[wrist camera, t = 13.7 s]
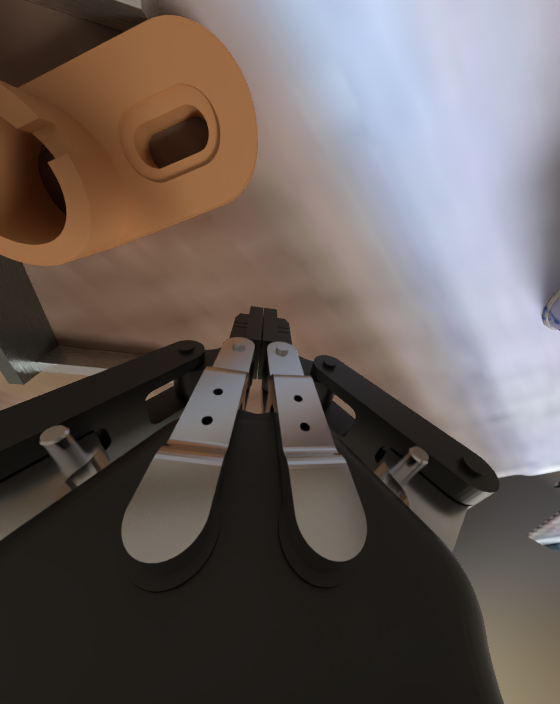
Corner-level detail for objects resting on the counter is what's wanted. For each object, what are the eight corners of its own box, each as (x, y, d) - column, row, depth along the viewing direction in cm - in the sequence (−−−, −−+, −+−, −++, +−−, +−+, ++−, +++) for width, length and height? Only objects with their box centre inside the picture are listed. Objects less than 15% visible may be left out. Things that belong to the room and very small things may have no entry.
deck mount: (-418, -187, 9) (-1007, -523, 5) (161, 11, 13) (111, -83, 8) (-33, 344, 24) (-96, 375, 19) (185, 366, 27) (171, 397, 23)
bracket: (84, 259, 20) (13, 283, 14) (-12, 139, 15) (-175, 101, 9) (272, 186, 18) (277, 179, 12) (228, 19, 13) (202, -121, 7)
